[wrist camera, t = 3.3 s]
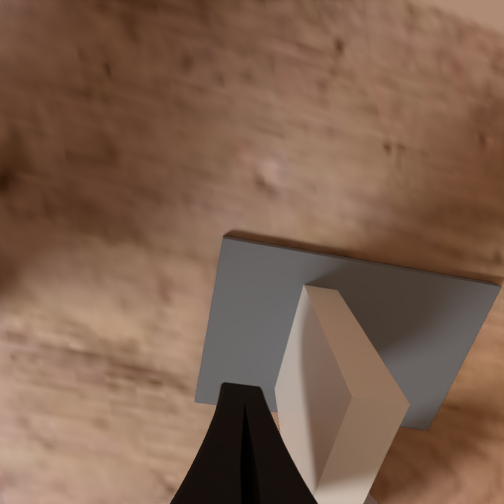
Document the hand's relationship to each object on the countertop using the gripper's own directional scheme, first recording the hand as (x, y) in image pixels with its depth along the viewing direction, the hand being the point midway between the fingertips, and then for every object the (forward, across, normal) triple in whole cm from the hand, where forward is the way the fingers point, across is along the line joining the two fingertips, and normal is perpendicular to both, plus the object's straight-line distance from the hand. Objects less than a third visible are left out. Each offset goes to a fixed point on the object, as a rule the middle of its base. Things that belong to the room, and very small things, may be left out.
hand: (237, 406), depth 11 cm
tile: (+4, -3, 0) cm, 5 cm away
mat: (+5, -5, 0) cm, 7 cm away
